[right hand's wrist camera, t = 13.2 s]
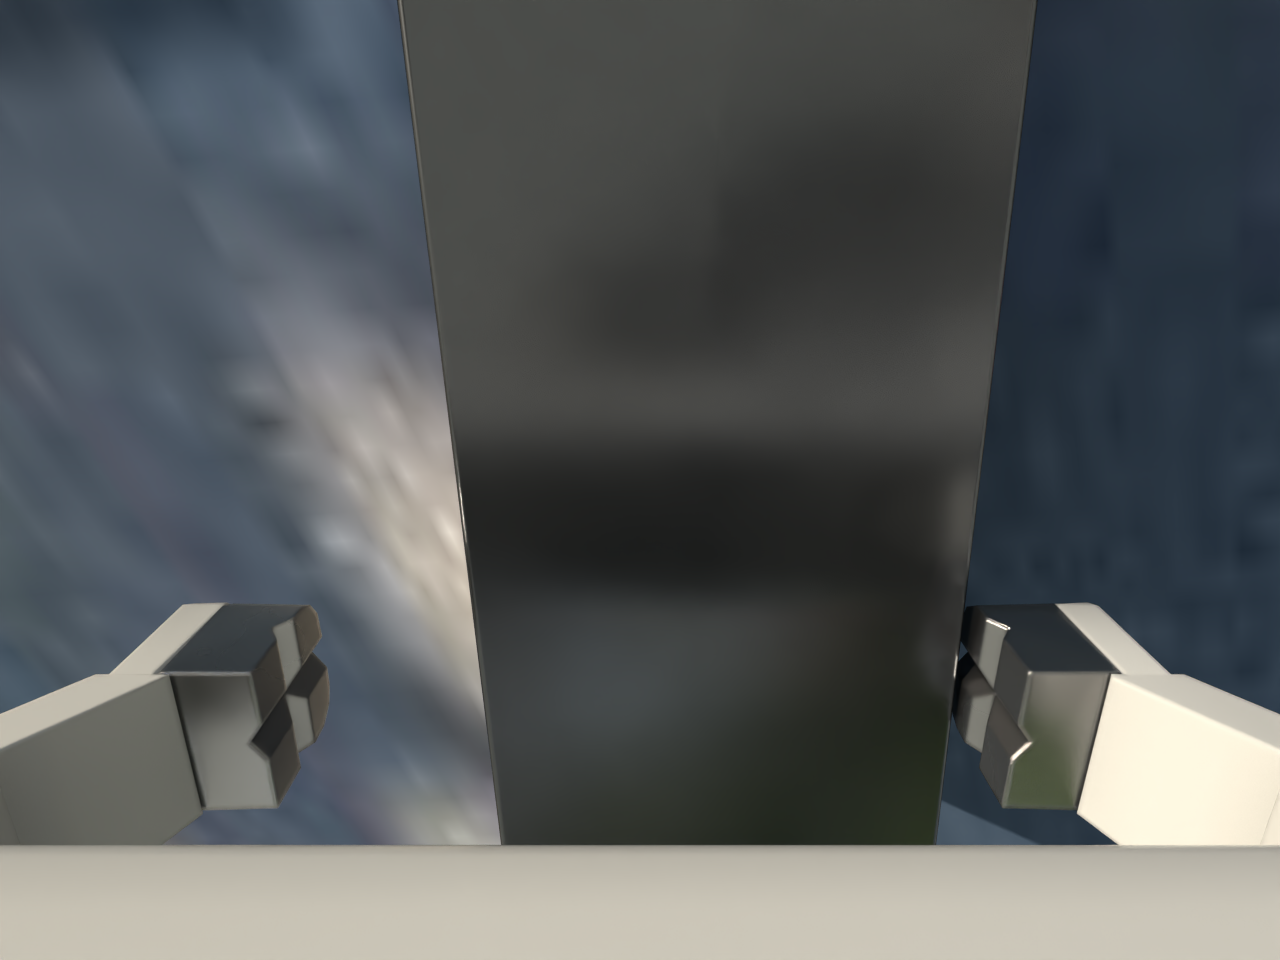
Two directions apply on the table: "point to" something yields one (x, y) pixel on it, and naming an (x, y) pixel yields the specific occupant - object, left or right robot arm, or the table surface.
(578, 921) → the right robot arm
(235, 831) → the table surface
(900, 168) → the bar
